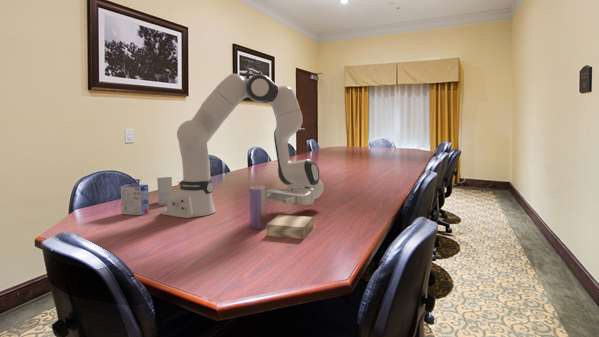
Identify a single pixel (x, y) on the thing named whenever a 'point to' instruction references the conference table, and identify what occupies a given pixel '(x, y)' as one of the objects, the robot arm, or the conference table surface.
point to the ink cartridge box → (135, 198)
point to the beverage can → (258, 207)
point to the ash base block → (290, 226)
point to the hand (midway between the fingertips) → (275, 199)
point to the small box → (164, 188)
